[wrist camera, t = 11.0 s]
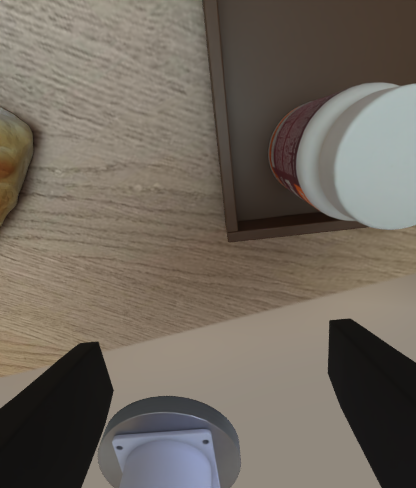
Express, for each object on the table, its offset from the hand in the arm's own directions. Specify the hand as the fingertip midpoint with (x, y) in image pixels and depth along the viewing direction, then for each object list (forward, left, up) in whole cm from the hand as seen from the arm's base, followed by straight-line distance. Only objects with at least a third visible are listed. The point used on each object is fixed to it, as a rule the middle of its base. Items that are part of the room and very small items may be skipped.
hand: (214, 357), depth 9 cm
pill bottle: (+5, -6, -10) cm, 13 cm away
